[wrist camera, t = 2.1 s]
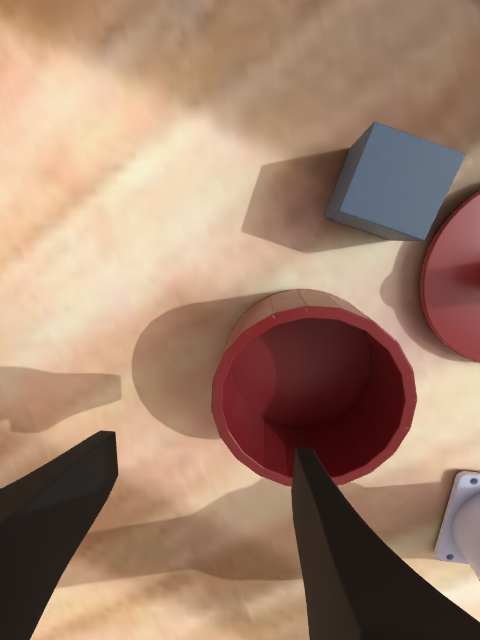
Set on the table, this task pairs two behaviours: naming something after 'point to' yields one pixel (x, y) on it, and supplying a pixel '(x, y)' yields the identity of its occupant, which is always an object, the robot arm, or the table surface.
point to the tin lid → (455, 281)
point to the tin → (312, 387)
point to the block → (393, 184)
